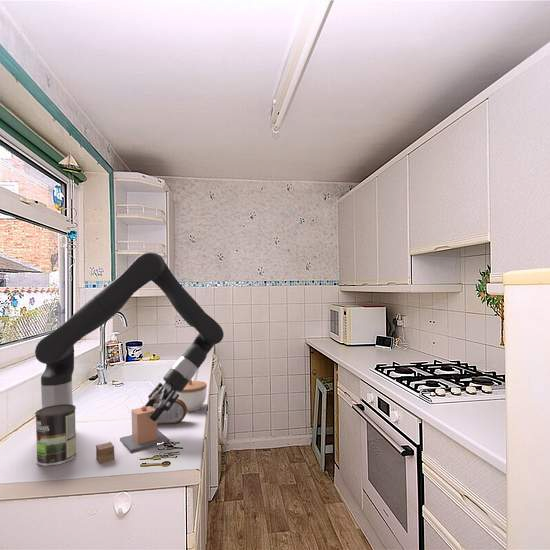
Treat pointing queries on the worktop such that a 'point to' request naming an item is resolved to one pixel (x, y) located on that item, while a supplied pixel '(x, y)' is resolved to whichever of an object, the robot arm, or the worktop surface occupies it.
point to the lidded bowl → (193, 395)
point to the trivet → (133, 446)
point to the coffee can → (55, 434)
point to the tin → (172, 413)
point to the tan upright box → (143, 425)
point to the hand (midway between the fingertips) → (147, 416)
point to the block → (105, 452)
